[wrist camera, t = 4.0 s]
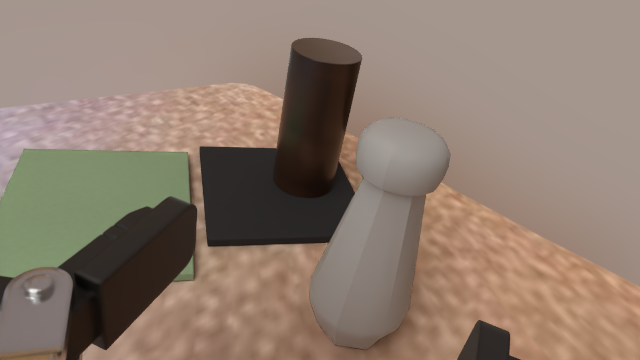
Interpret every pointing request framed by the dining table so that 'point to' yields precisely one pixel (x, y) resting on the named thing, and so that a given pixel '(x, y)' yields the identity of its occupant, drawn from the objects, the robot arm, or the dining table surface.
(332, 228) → the dark mat
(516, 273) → the dining table surface
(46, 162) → the sage mat
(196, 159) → the dining table surface
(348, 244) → the salt shaker
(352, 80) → the dark brown cylinder
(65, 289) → the robot arm
